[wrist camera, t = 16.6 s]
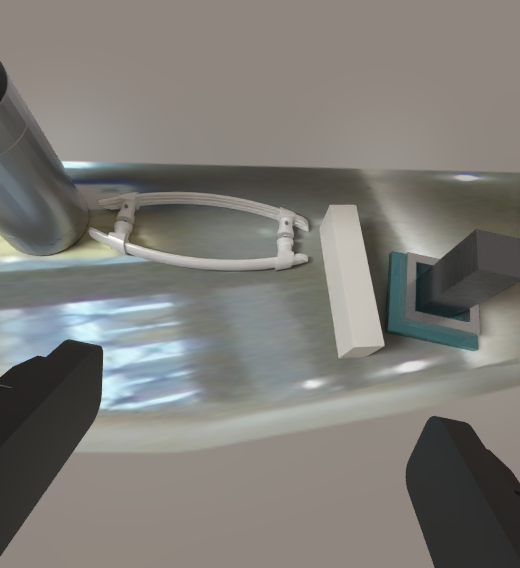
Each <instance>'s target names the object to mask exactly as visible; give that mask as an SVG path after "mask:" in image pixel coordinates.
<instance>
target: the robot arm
mask: <svg viewBox="0 0 520 568" xmlns="http://www.w3.org/2000/svg"><path fill="white" fill-rule="evenodd" d="M88 220H89V211H88V208H87V205H86V203H85V202H84V200H83V198H82V197H81V195H80V193H79V192H78V190H77V188H76V187H75V185H74V183H73V181H72V180H71V178H70V176H69V175H68V173H67V171H66V170H65V168H64V166H63V165H62V163H61V161H60V160H59V158H58V156H57V155H56V153H55V151H54V150H53V148H52V146H51V145H50V143H49V141H48V140H47V138H46V136H45V135H44V133H43V131H42V130H41V128H40V126H39V125H38V123H37V121H36V120H35V118H34V116H33V115H32V113H31V111H30V110H29V108H28V106H27V105H26V103H25V101H24V100H23V98H22V97H21V95H20V94H19V92H18V90H17V88H16V87H15V85H14V83H13V82H12V80H11V78H10V77H9V75H8V73H7V72H6V70H5V68H4V67H3V65H2V63H1V62H0V236H2V237H3V238H4V239H5V240H6V241H7V242H8V243H9V244H10V245H12V246H13V247H14V248H15V249H17V250H19V251H20V252H23V253H26V254H29V255H37V256H41V255H50V254H54V253H58V252H60V251H62V250H65V249H67V248H68V247H70V246H71V245H73V244H74V243H75V242H76V241H77V240H78V239H79V238H80V237H81V236H82V234H83V233H84V232H85V230H86V227H87V225H88ZM102 371H103V349H102V347H101V346H99V345H94V344H89V343H84V342H79V341H75V340H70V339H69V340H66V341H64V342H63V343H62V344H60V345H59V346H58V347H57V348H56V349H55V350H54V351H52V352H51V353H50V354H49V355H48V356H47V357H42V356H36V357H34V358H32V359H29V360H27V361H25V362H23V363H20V364H18V365H16V366H14V367H12V368H11V369H10V370H8V371H7V372H6V373H5V374H4V375H2V376H1V377H0V556H1V555H2V553H3V552H4V550H5V549H6V547H7V546H8V544H9V543H10V541H11V540H12V539H13V537H14V536H15V534H16V533H17V531H18V530H19V529H20V527H21V526H22V524H23V523H24V521H25V520H26V518H27V517H28V516H29V514H30V513H31V511H32V510H33V508H34V507H35V506H36V504H37V503H38V501H39V500H40V498H41V497H42V495H43V494H44V492H45V491H46V490H47V488H48V487H49V485H50V484H51V483H52V481H53V480H54V478H55V477H56V475H57V474H58V472H59V471H60V469H61V468H62V467H63V465H64V464H65V462H66V461H67V459H68V458H69V457H70V455H71V454H72V452H73V451H74V449H75V448H76V446H77V445H78V444H79V442H80V441H81V439H82V438H83V436H84V435H85V434H86V432H87V431H88V429H89V428H90V426H91V425H92V423H93V422H94V420H95V418H96V415H97V413H98V410H99V407H100V403H101V396H102ZM406 485H407V489H408V493H409V495H410V498H411V501H412V504H413V507H414V510H415V513H416V516H417V519H418V521H419V524H420V527H421V530H422V532H423V536H424V538H425V541H426V544H427V547H428V550H429V553H430V556H431V558H432V561H433V564H434V567H435V568H520V483H519V481H518V480H517V478H516V477H515V475H514V474H513V473H512V471H511V470H510V469H509V468H508V467H507V466H506V465H505V464H504V463H503V462H502V461H500V460H499V459H498V458H497V457H496V456H495V455H494V454H493V453H492V452H491V451H490V450H487V449H486V448H485V446H484V445H483V443H482V442H481V440H480V439H479V437H478V436H477V434H476V433H475V431H474V430H473V428H472V427H471V426H470V425H469V424H468V423H466V422H461V421H457V420H452V419H447V418H442V417H437V416H432V417H430V418H429V420H428V421H427V422H426V425H425V427H424V429H423V431H422V433H421V435H420V437H419V439H418V441H417V444H416V446H415V448H414V450H413V452H412V454H411V456H410V458H409V461H408V464H407V467H406Z"/></svg>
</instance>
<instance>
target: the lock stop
mask: <svg viewBox="0 0 520 568" xmlns="http://www.w3.org/2000/svg"><path fill="white" fill-rule="evenodd" d="M518 282H520V239H519V238H514V237H509V236H505V235H500V234H495V233H491V232H486V231H481V230H477V229H476V230H475V231H473V232H472V233H471V234H470V235H469V236H467V237H466V238H465V239H464V240H463V241H462V242H460V243H459V244H458V245H457V246H456V247H454V248H453V249H452V250H451V251H450V252H448V253H447V254H446V255H445V256H444V257H442V258H441V259H440V260H439V261H438V262H437V263H435V264H434V265H433V266H432V267H431V268H429V269H428V270H427V271H426V272H425V273H423V274H422V275H421V276H420V277H419V278H417V279H416V311H418V312H422V313H427V314H431V315H436V316H441V317H445V318H450V319H451V318H453V317H455V316H457V315H459V314H460V313H462V312H464V311H466V310H468V309H470V308H472V307H473V306H475V305H477V304H479V303H481V302H483V301H485V300H487V299H488V298H490V297H492V296H494V295H496V294H498V293H500V292H501V291H503V290H505V289H507V288H509V287H511V286H513V285H515V284H516V283H518Z"/></svg>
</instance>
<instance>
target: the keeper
mask: <svg viewBox="0 0 520 568" xmlns="http://www.w3.org/2000/svg"><path fill="white" fill-rule="evenodd" d="M439 260H440V259H437V258H432V257H427V256H423V255H418V254H414V253H409V252H408V253H407V254H403V253H398V252H393V251H392V252H391V253H390V255H389V273H388V290H387V308H386V326H385V332H387V333H392V334H396V335H401V336H406V337H410V338H415V339H419V340H424V341H429V342H433V343H438V344H443V345H447V346H452V347H456V348H461V349H466V350H470V351H475V350H478V341H477V335H479V334H480V320H479V304H477V305H475V306H473V307H472V308H470V309H468V310H466V311H464V312H462V313H460V314H459V315H457V316H455V317H453V318H451V319H450V318H445V317H441V316H436V315H431V314H427V313H422V312H418V311H416V279H417V278H419V277H420V276H421V275H422V274H423V273H425V272H426V271H427V270H428V269H429V268H431V267H432V266H433V265H434V264H435V263H437V262H438V261H439Z"/></svg>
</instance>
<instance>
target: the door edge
mask: <svg viewBox="0 0 520 568" xmlns="http://www.w3.org/2000/svg"><path fill="white" fill-rule="evenodd" d="M319 231H320V237H321V244H322V251H323V257H324V264H325V270H326V277H327V284H328V290H329V297H330V303H331V310H332V317H333V323H334V330H335V337H336V343H337V350H338V356H339V358H354V357H367V356H368V355H370V354H372V353H373V352H375V351H377V350H378V349H380V348H382V347H384V346H385V345H384V340H383V335H382V330H381V325H380V320H379V316H378V311H377V306H376V301H375V296H374V291H373V286H372V281H371V276H370V271H369V266H368V261H367V257H366V252H365V247H364V242H363V237H362V232H361V227H360V222H359V217H358V212H357V207H356V205H330V206H329V208H328V210H327V213H326V215H325V217H324V219H323V222H322V224H321V226H320V228H319Z"/></svg>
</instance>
